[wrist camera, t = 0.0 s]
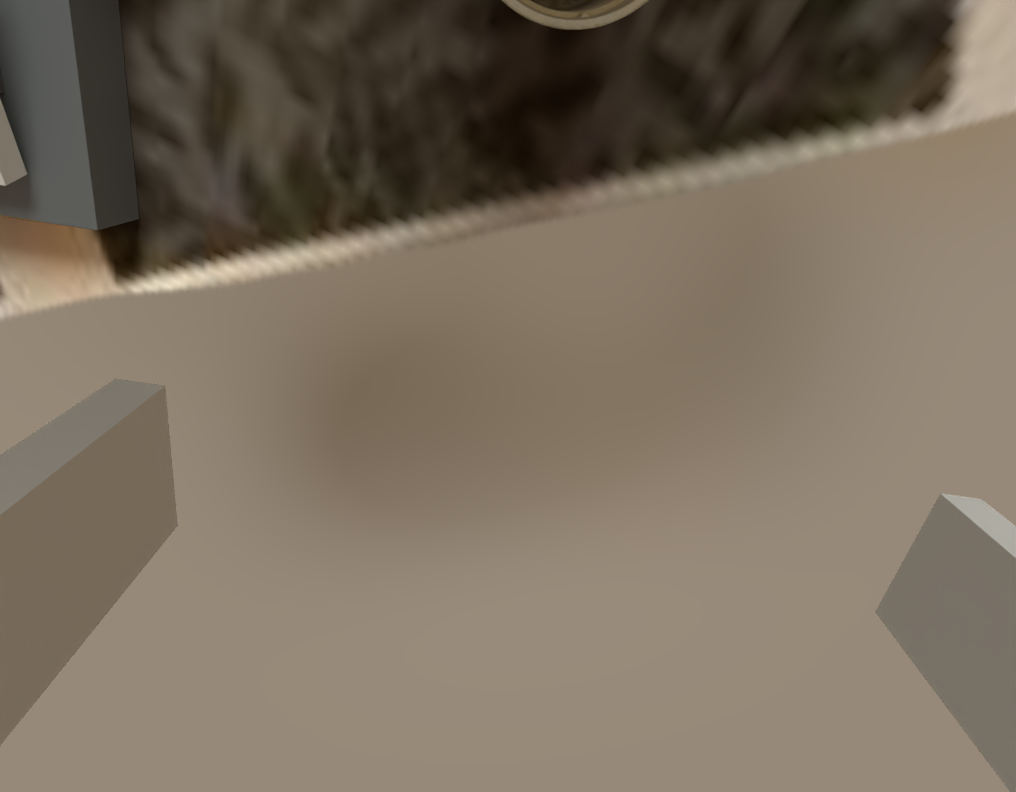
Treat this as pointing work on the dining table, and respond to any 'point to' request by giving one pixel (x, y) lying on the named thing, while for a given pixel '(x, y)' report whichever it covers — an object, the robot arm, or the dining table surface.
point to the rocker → (9, 153)
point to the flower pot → (574, 12)
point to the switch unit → (67, 113)
